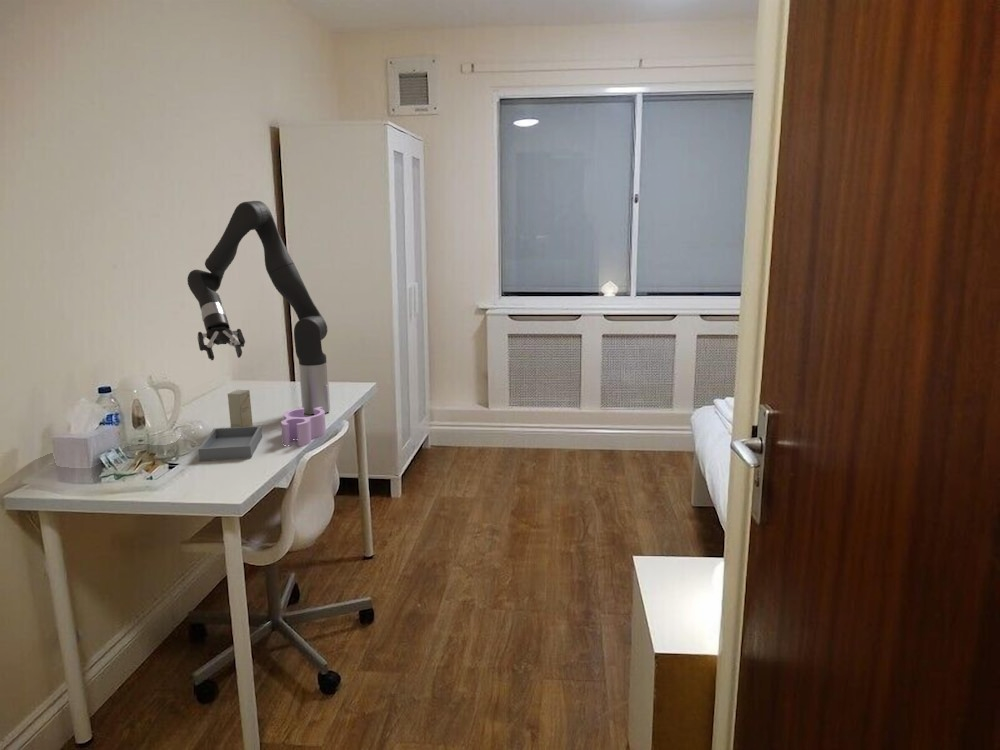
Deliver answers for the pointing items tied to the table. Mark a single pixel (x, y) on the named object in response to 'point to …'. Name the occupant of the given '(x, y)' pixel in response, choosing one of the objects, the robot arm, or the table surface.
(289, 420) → the clip
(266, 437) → the table surface
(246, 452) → the tray
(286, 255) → the robot arm
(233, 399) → the skincare box
